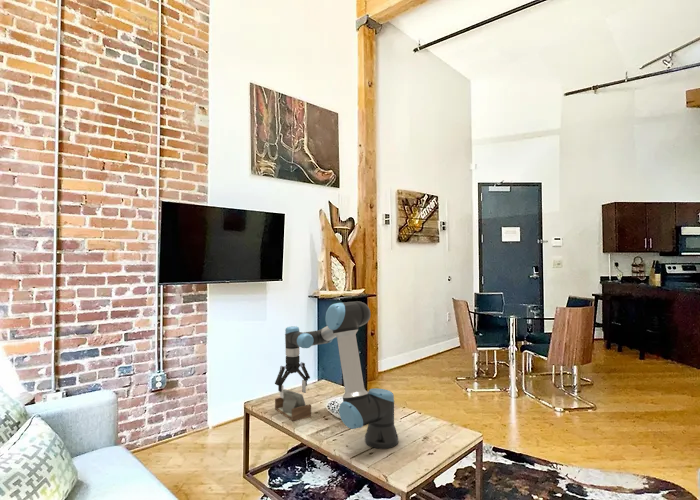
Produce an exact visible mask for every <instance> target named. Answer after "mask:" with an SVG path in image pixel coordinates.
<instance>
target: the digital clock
mask: <svg viewBox="0 0 700 500" xmlns="http://www.w3.org/2000/svg"><path fill="white" fill-rule="evenodd" d="M283 395H284V398H283V400H284V402H283V411H285V412H288V413H291V414H292V409H293V408H297V407H301V406H305V405H307V404H306V401H305V399H304V396H303V394H302V393H299V392H296V391H293V390H288V389H285V388H283Z"/></svg>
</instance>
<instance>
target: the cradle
mask: <svg viewBox="0 0 700 500" xmlns="http://www.w3.org/2000/svg"><path fill="white" fill-rule="evenodd" d="M283 402H284V400H283V398H281V397H280V396H279V397H276V398H275V399H274V410H275V411H276V410H277V411H276V412H278V413H279V412H280V413H279V414H281V415H282V414H283V416H284V417H286V418H287V419H288V420H290V421H291V422H295V421H299V420H303V419H307V418H310V417H312V404H309V403H308V404H306V405H305V406H301V407H297V408H293V409H292V414H291V413H288V412H285V411H283Z"/></svg>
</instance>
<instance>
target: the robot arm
mask: <svg viewBox="0 0 700 500" xmlns="http://www.w3.org/2000/svg"><path fill="white" fill-rule="evenodd" d="M371 312H372V311H371V309H370V307H369V306H368V305H367V304H366V303H365V302H364V301H363V302H362V301H360V300H359V301H358V300H356V301H347V302H345V301H344V302H343V301H342V302H337V303H332V304H330V305H329V307H328V308H327V310H326V312H325V325H326V326H324V327H323V328H321V329H318V330H312V331H304V332H302V331H301V332H300V328H299V326H297V325H296V326H287V327H285V329H284V330H285V332H284V337H285V338H284V340H285V343H284V344H285V345H284V346H285V365H280V367H279V371H278V374H277V377H276V380H275V381H274V384H275V385H276V386H278V392H279V398H280V397H281V398H284V395H283V389H284V383H285V381H286V379H287V378H288V377H289V375H291V374H294V373H297V374H298V375H299V376H300V377H301V378H302V379H301V391H302V393H304V394H306V393H307V391H306V390H307V387H308V381H309V379H310V378H311V376H310V374H309V372H308V371H307V368H306V365H305V364H306V363H305V362H302V361H301V362H300V360H301V358H300V348H302V349H310V348H311V347H313V346H317V345H325V344H329V343H332V342H333V340H334V339H337V346H338V352H339V353H338V354H339V360H340V366H341V372H342V381H343V386H344V394H343V395H342V402H341V403H340V405H339V408H338V413H339V418H340V419H341V421H342V423H343V424H344V425H345V426H346V427H347V428H349V429H350V430H356V429H358V428H359V429H361V428H363V427H365V426H367V428H366V432H365V435H364V442H365V444H366V445H367V446H369V447H371V448H374V449H379V450H380V449H381V450H383V449H391V448H394V447H395V446H397V445H398V443H399V435H398V433H397V430H396V426H395V397H394V393H393V392H392V391H391V390H388V389H384V388H377V387H376V388H370V389H369V390H368V391H367V390H366V388H365V385H364V384H365V383H364V379H363V372H362V365H361V359H360V353H359V347H358V342H357V335H356V334H357V333H358V331H359V328H360V327H362V326H364V325H366V324H368V322H369V321H370V319H371V315H372V314H371ZM300 367H301V369H300ZM301 370H302V371H301Z"/></svg>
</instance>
